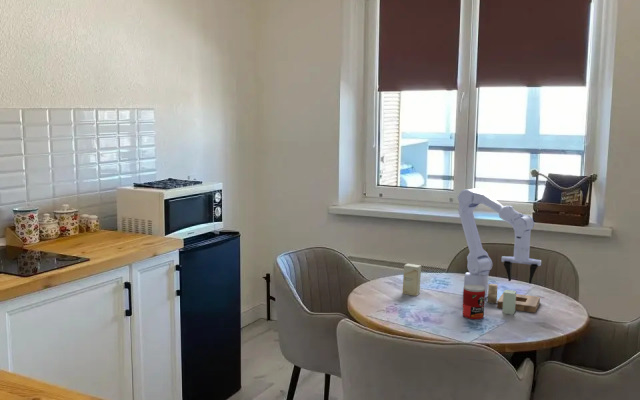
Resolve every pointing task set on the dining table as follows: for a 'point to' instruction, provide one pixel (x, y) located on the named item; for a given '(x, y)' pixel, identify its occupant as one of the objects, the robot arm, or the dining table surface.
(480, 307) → the canned food
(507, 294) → the square peg
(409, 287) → the skincare box
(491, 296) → the birch dowel
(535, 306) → the socket block
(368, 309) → the dining table surface
